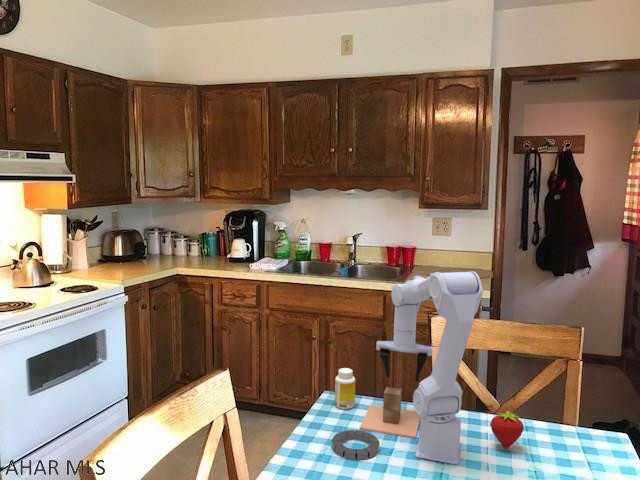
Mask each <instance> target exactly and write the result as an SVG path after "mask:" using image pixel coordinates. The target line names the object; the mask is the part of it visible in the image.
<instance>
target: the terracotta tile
mask: <svg viewBox="0 0 640 480" xmlns="http://www.w3.org/2000/svg"><path fill="white" fill-rule="evenodd" d="M369 405H370V406H369V407H368V410H367V411H366V414H365V415H364V418H363V419H362V422H361V424H360V426H359V430H360V431H366V432H374V433H380V434H386V435H393V436H397V437H404V438H410V439H416V438H417V435H418V429H419V427H420V416H419V415H418V414H417V413H416V411H415V410H409V409H404V408H403V409H402V408H401V412H400V420H399V424H398V425H397V424H390V423H384V422H383V406H382V405H376V404H369Z"/></svg>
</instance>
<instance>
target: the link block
mask: <svg viewBox="0 0 640 480" xmlns="http://www.w3.org/2000/svg"><path fill="white" fill-rule="evenodd" d="M401 407H402V388H398V387H392V386H391V387H390V386H386V387H385V389H384V392H383V422H384V423H390V424H397V425H398V424H399V420H400V412H401V409H402V408H401Z"/></svg>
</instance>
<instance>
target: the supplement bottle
mask: <svg viewBox="0 0 640 480" xmlns="http://www.w3.org/2000/svg"><path fill="white" fill-rule="evenodd" d="M334 381H335V383H334V384H335V385H334V406H335V407H336V408H337V409H340V410H341V409H342V410H349V409H350V410H351V409H353V408H354V407H355V404H356V399H355V398H356V396H355V395H356V378H355V376H354V374H353V369H351V368H350V367H349V368H348V367H343V368H339V369H338V373H337V375H336V376H335V379H334Z"/></svg>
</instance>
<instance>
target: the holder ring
mask: <svg viewBox="0 0 640 480" xmlns="http://www.w3.org/2000/svg"><path fill="white" fill-rule="evenodd" d="M354 440H355V441H360V442H364V443H366V444H368V446H366V447H365V448H358V449H357V448H350V447H349V448H348V447H347V446H345V445H344V444H343V443H345V442H347V441H354ZM380 444H381V443H380V440H379V439H378V438H377V436H376V435H374V434H372V433H370V432H369V431H367V430H361V429H359V430H358V429H347V430H342V431H340V432H338V433H335V434H334V435H333V437H332V439H331V449H332V450H333V453H335V454H336V455H337V456H338V457H340V458H343V459H345V460H350V461H351V460H352V461H364V460H365V461H366V460H368V459H372V458H374V457H375V456H377V454H379V451H380V447H381V445H380Z"/></svg>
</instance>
